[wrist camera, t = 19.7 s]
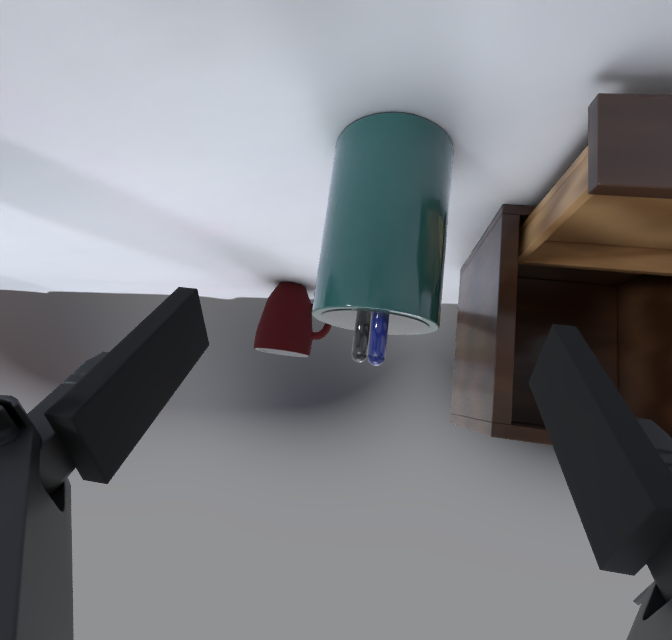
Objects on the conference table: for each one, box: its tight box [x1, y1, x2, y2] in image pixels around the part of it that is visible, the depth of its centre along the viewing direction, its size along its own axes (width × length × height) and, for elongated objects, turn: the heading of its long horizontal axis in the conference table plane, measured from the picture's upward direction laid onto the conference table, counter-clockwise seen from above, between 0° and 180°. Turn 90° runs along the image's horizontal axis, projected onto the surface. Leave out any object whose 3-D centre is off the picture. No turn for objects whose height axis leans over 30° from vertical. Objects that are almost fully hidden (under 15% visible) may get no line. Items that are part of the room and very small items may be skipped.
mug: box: [254, 282, 331, 357], centre depth 54 cm, size 11×8×10 cm
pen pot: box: [312, 112, 453, 366], centre depth 22 cm, size 7×7×13 cm
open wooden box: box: [450, 205, 672, 446], centre depth 31 cm, size 14×16×16 cm
